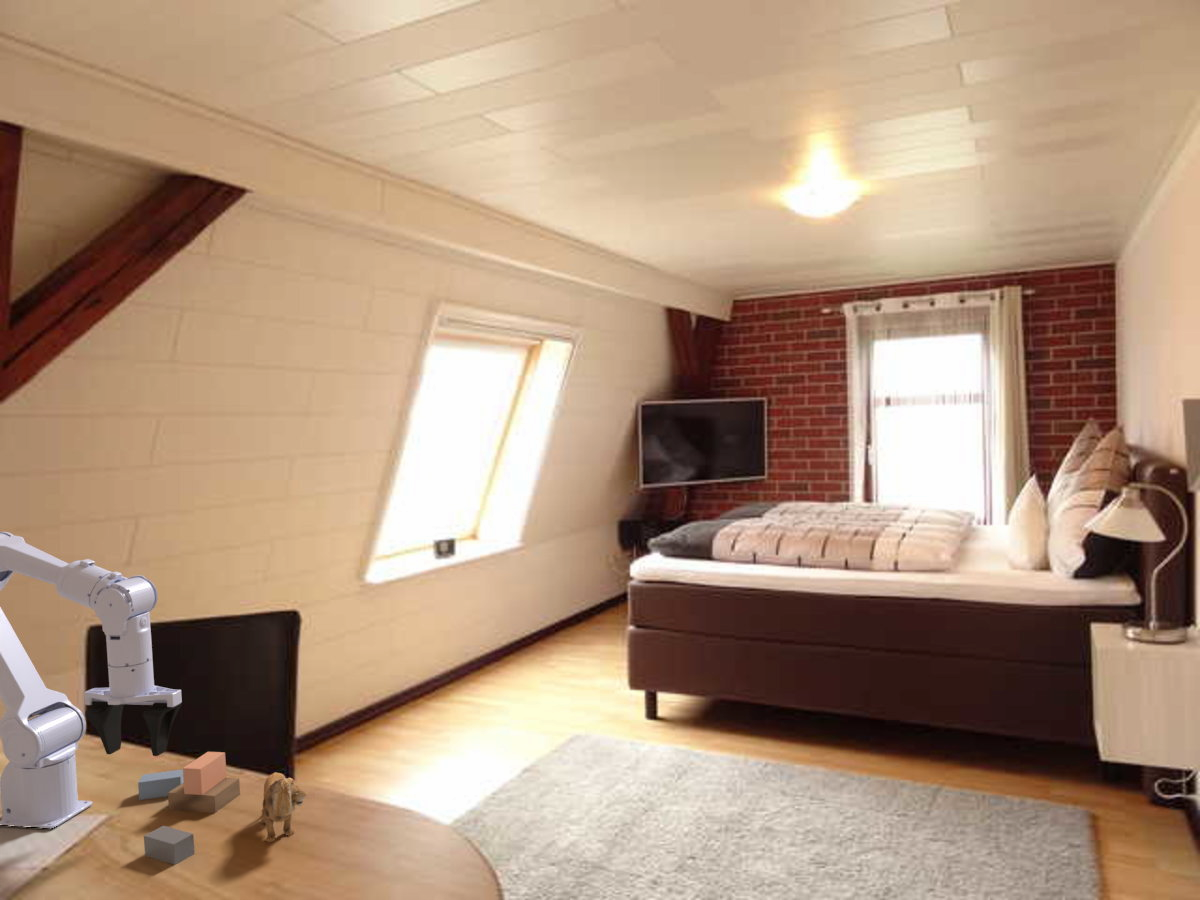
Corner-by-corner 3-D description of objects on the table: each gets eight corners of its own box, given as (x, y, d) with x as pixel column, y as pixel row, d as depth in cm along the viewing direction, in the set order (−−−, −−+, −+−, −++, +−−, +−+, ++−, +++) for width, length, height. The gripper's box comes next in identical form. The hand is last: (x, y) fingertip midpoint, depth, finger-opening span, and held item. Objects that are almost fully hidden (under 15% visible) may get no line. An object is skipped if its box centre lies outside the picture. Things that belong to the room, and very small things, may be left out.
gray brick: (145, 857, 115) (143, 835, 115) (164, 846, 118) (163, 825, 117) (175, 866, 112) (173, 844, 112) (194, 855, 115) (193, 833, 115)
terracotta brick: (184, 793, 128) (182, 768, 127) (209, 776, 134) (207, 751, 133) (202, 794, 127) (200, 769, 127) (226, 777, 133) (225, 752, 133)
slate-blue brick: (139, 801, 132) (138, 782, 132) (143, 792, 135) (142, 774, 135) (181, 795, 134) (180, 776, 133) (184, 787, 136) (184, 769, 136)
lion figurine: (311, 842, 117) (308, 778, 117) (271, 854, 114) (268, 789, 114) (284, 802, 129) (282, 745, 129) (248, 812, 127) (245, 754, 126)
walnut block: (169, 811, 128) (167, 792, 128) (195, 793, 134) (194, 775, 134) (215, 815, 127) (214, 795, 127) (240, 797, 133) (239, 778, 133)
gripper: (65, 669, 121) (71, 762, 121) (156, 670, 118) (162, 765, 119) (102, 654, 128) (108, 742, 128) (188, 655, 125) (194, 745, 126)
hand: (136, 752), depth 124 cm, fingers open, 7 cm apart
